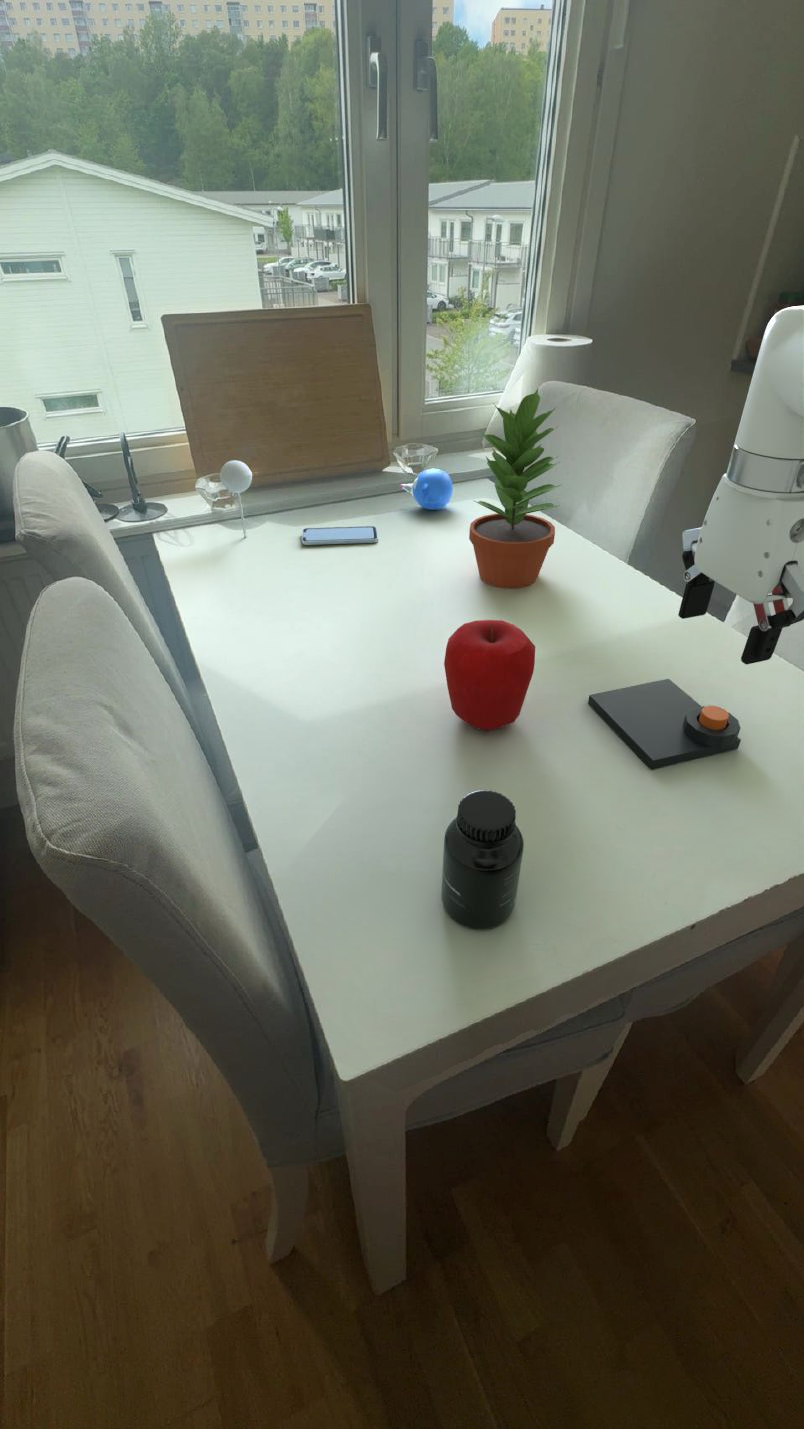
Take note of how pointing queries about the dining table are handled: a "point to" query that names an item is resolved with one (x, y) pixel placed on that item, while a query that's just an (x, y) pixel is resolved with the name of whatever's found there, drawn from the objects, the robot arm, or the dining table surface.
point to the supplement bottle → (482, 861)
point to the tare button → (713, 717)
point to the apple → (488, 672)
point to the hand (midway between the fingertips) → (721, 637)
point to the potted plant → (515, 503)
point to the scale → (662, 723)
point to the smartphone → (339, 535)
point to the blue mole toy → (431, 489)
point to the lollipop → (236, 480)
